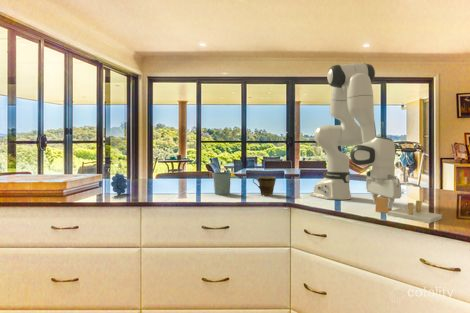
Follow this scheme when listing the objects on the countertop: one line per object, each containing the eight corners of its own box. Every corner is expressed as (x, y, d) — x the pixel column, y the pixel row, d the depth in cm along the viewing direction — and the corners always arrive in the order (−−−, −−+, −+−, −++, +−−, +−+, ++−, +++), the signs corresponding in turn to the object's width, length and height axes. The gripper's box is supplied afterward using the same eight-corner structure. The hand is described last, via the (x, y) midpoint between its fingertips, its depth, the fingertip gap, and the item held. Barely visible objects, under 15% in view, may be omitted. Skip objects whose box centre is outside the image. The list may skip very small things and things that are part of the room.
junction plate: (387, 215, 132) (388, 200, 131) (400, 211, 139) (401, 197, 139) (430, 223, 119) (431, 207, 119) (441, 218, 127) (442, 203, 126)
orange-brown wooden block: (375, 211, 138) (375, 197, 138) (379, 209, 142) (380, 196, 141) (387, 213, 134) (388, 199, 134) (391, 211, 138) (392, 197, 138)
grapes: (117, 196, 168) (117, 174, 167) (108, 196, 170) (107, 173, 170) (132, 193, 178) (132, 172, 178) (123, 192, 181) (123, 171, 180)
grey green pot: (230, 195, 176) (230, 173, 175) (212, 195, 176) (212, 173, 175) (230, 192, 186) (231, 172, 185) (213, 192, 186) (213, 171, 185)
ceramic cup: (275, 193, 183) (275, 176, 182) (275, 196, 173) (276, 178, 172) (252, 193, 184) (253, 175, 183) (252, 196, 174) (252, 177, 173)
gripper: (406, 176, 128) (405, 210, 129) (376, 172, 148) (375, 201, 149) (391, 176, 127) (390, 210, 128) (363, 172, 147) (363, 201, 148)
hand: (382, 205), depth 138 cm, fingers open, 8 cm apart
